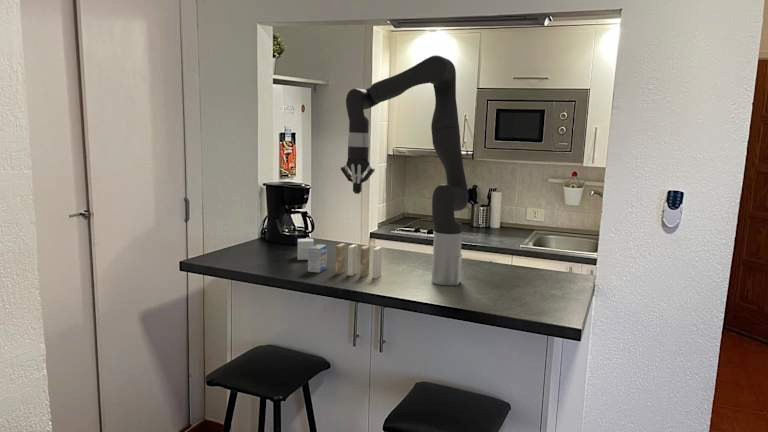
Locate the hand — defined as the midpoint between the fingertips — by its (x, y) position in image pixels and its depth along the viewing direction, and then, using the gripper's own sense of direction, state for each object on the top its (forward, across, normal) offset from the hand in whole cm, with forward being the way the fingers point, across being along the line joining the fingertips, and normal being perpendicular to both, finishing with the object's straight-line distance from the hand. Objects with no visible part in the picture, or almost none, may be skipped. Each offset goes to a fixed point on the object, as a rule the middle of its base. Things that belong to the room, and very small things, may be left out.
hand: (357, 193), depth 214 cm
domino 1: (+27, +1, +12) cm, 30 cm away
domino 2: (+27, -3, +12) cm, 30 cm away
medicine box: (+27, +10, +12) cm, 31 cm away
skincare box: (+27, +22, -4) cm, 35 cm away
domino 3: (+27, -8, +12) cm, 31 cm away
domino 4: (+27, -12, +12) cm, 32 cm away
